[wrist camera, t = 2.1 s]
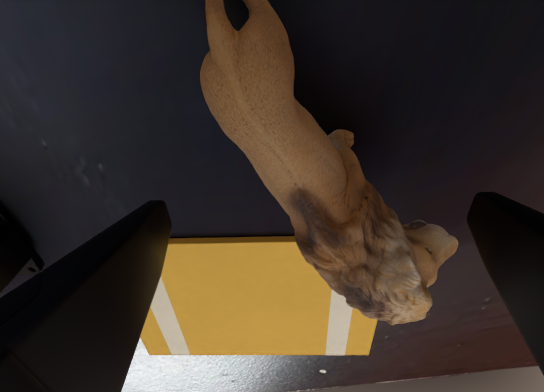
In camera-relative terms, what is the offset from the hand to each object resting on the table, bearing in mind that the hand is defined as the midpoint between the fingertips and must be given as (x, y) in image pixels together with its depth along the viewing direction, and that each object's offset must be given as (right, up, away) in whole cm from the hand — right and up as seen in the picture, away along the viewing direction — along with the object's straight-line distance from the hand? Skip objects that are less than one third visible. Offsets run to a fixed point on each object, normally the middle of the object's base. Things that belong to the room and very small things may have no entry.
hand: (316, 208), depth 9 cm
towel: (-3, -8, +16) cm, 18 cm away
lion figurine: (0, +5, +7) cm, 8 cm away
